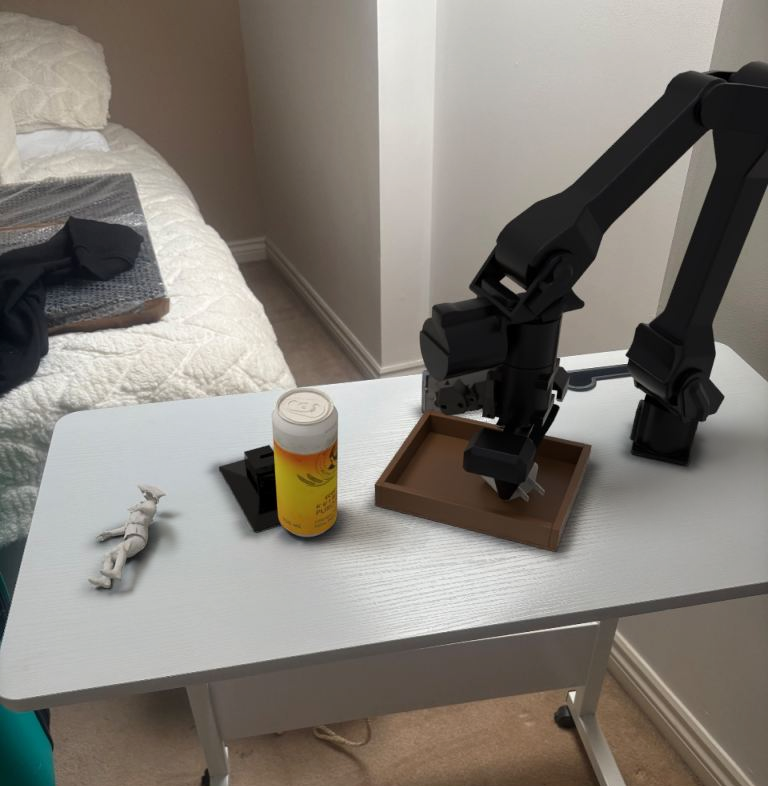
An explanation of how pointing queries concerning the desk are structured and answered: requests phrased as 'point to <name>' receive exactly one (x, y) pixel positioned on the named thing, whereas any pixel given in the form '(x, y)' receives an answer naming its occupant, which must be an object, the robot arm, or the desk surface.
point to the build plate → (255, 487)
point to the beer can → (306, 460)
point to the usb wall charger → (524, 486)
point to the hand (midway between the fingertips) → (511, 483)
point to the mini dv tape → (428, 393)
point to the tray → (480, 483)
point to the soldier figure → (129, 536)
